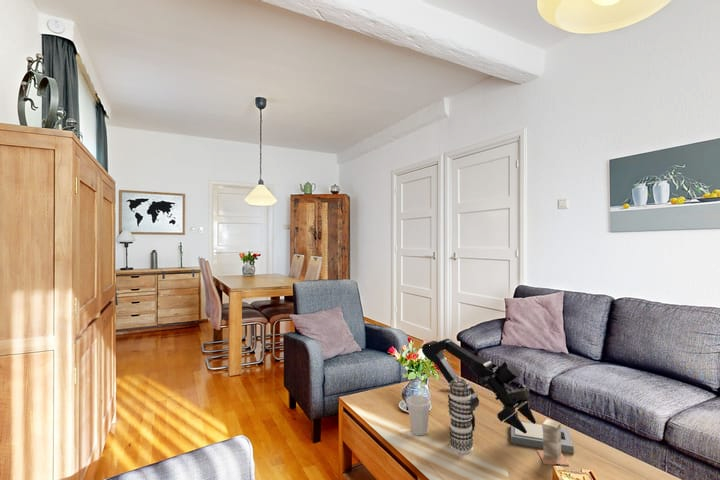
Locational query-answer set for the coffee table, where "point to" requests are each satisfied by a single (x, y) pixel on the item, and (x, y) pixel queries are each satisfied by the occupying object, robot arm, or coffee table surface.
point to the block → (552, 440)
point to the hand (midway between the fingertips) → (530, 428)
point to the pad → (547, 461)
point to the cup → (418, 413)
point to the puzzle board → (539, 437)
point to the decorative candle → (460, 416)
